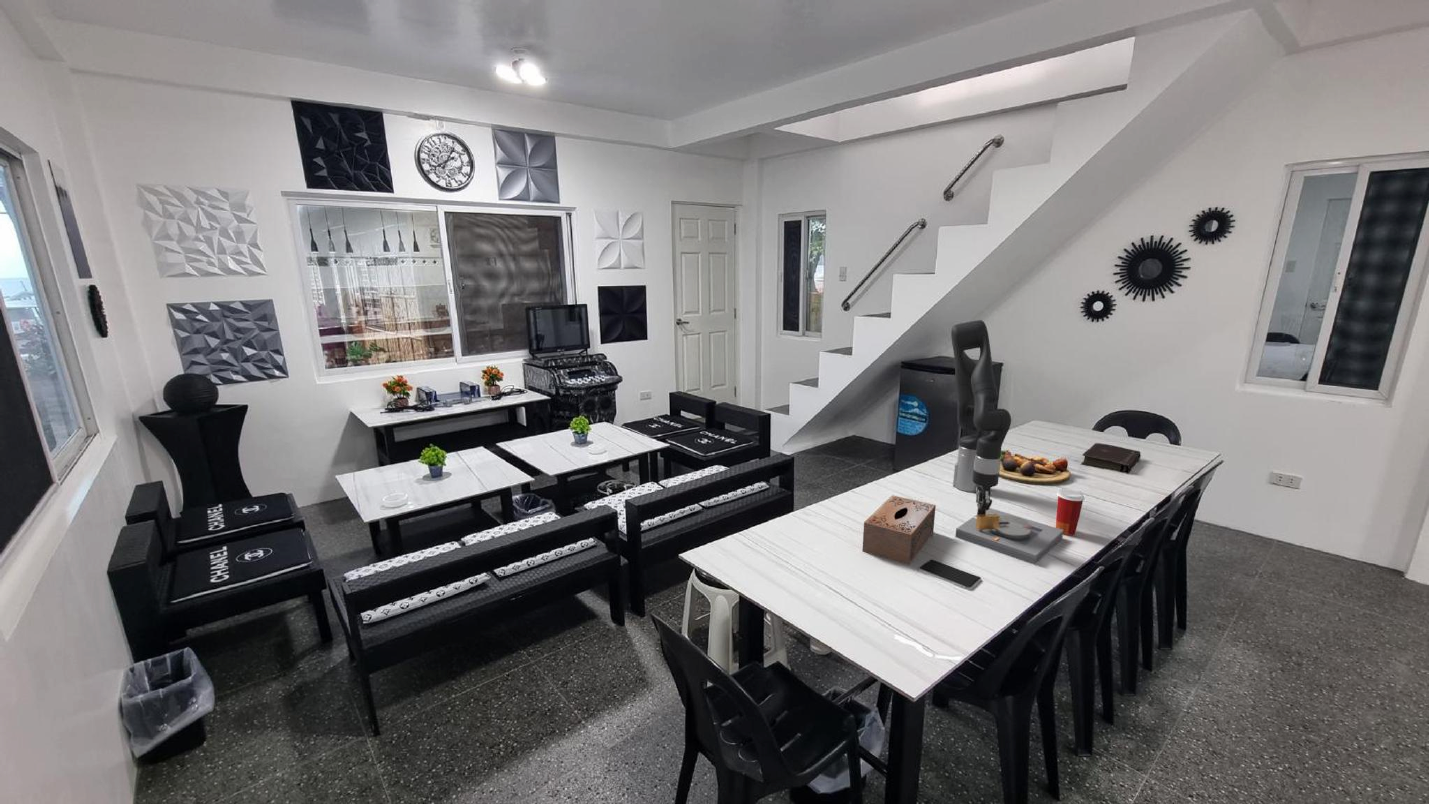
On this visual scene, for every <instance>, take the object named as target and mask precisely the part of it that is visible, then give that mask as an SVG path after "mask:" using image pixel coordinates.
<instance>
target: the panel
mask: <svg viewBox="0 0 1429 804" xmlns="http://www.w3.org/2000/svg"><path fill="white" fill-rule="evenodd" d="M986 514H997V515H1008V516H1014V517H1018V518H1021V519H1023V520H1025V521H1027V522H1028V523H1030V524H1031V526H1032V527H1031V535H1030V538H1028V539H1026V540H1010V539H1005V538H1002V537H999V536H997V535H995V534H993V533H992V532H991V531H990V530H989V529H985V530H978V529H977V528H976V521H977V514H976V515H974V516H973V517H972V518H970V519H968V520H967V521H965V522H963V524H961V525H959V526H958V527H956V529H955V538H958V539H960V540H963V541H965V542H968V543H972V544H974V545H977V546H980V547H983V548H986V549H989V550H991V551H994V552H997V553H999V554H1003V555H1006V556H1009V557H1011V558H1015V559H1018V560H1020V561H1023V562H1026V563H1029V564H1031V565H1036V564H1037V563H1038V562H1039V561H1040V560H1042V558H1044V556H1045V555H1046V554H1047V553H1049V552H1050V551H1051V550H1052V549H1053V548H1054V547H1056V546H1057V544H1058V543H1059V542H1061V540H1062V539H1063V537H1064V535H1063V530H1062V529H1058V528H1056V526H1052V525H1048V524H1045V523H1042V522H1038V521H1034V520H1032V519H1027V518H1024V517H1021V516H1018V515H1015V514H1013V513H1008V512H1005V511H1001V510H998V509H994V508H991V507H990V508H989V510H986Z"/></svg>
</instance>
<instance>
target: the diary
mask: <svg viewBox="0 0 1429 804" xmlns="http://www.w3.org/2000/svg"><path fill="white" fill-rule="evenodd" d="M1141 455H1142V454H1141V451H1140V450H1134V449H1130V448H1126V447H1121V446H1118V445H1117V446H1116V445H1112V444H1107V443H1101V442H1100V443H1099V442H1095V443H1094V444H1093V445H1092V446H1091V447H1089V448H1088V449H1087V450H1085V451H1084V452H1083V454H1082V455H1081V456H1082V457H1084V458H1083V459H1084V460H1083V461H1082V462H1081V463H1080V465H1081V466H1085V467H1092V468H1096V469H1101V470H1108V469H1109V471H1114V472H1118V471H1119V472H1120V471H1121V470H1122V471H1121V473H1125V472H1126V471H1127V470H1128V471H1127V472H1126V474H1127V475H1129V474H1130V473H1131V471H1132V469H1133V468H1134V467H1135V466H1136V464H1137V463H1138V462H1139V460H1140V459H1141ZM1128 467H1129V468H1128Z"/></svg>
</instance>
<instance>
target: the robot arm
mask: <svg viewBox="0 0 1429 804" xmlns="http://www.w3.org/2000/svg"><path fill="white" fill-rule="evenodd" d="M950 332H951V333H950V335H951V337H950V338H951V345H952V350H953V356H954V357H953V359H954V367H955V368H954V370H955V371H954V372H955V373H954V375H955V387H956V395H957V396H956V398H957V409H956V410H957V412H956V413H957V415H956V416H957V424H958V427H960V429H964V430H969V431H976V433H974V434H970V435H964V436H962V437H960V439H959V441H958V443H959V444H958V453H957V461H956V463H955V464H954V470H953V471H954V472H953V480H952V481H953V482H952V486H953V487H955V488H956V489H958V490H959V491H964V492H975V503H976V506H977V512H976V515H982V514H986V510H989V508H991V505H992V503H993V499H991V497H992V494H993V490H992V489H991V488H993V487H996V486H998V484H999V478H1000V477H999V471H1000V455H1001V451H1002V446H1003V443H1004V441H1005V439H1006V437H1007V434H1008V432H1009V430H1010V427H1011V424H1012V416H1011V413H1010V412H1009V411H1008V410H1007V409H1005V408H987V406H991V405H994V404H996V403H997V402H998V401H999V397H1000V396H999V393H998V391H999V390H998V387H997V384H996V380H995V376H994V371H993V370H994V369H993V360H992V359H993V358H992V352H991V345H990V338H989V337H990V336H989V332H988V328H987V324H986V323H985V321H983V320H982V319H977V320H972V321H967V322H962V323H957V324H953V326H952V327H951V331H950ZM978 348H979V350H980V351H979V357H978V360H977V362H975V361H974V360H973V359H972V358H970V356H968V355H967V353H966V352H965V351H967V350H969V351H970V350H974V349H978ZM973 400H974V405H969V404H970V403H971V401H973ZM987 432H990V434H988V435H987Z"/></svg>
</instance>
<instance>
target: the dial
mask: <svg viewBox="0 0 1429 804" xmlns="http://www.w3.org/2000/svg"><path fill="white" fill-rule="evenodd" d="M976 515H977V514H976ZM1018 517H1019V516H1018ZM1018 517H1014V516H1008V515H997V514H982V515H977V521H976V528H977V529H978V530H985V529H989V530H990V531H991V532H992V533H993V534H995V535H997V536H999V537H1002V538H1005V539H1010V540H1026V539H1028V538H1030V535H1031V527H1032V526H1031V524H1030V523H1028V522H1027V521H1025V520H1023V519H1021V518H1018Z"/></svg>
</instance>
